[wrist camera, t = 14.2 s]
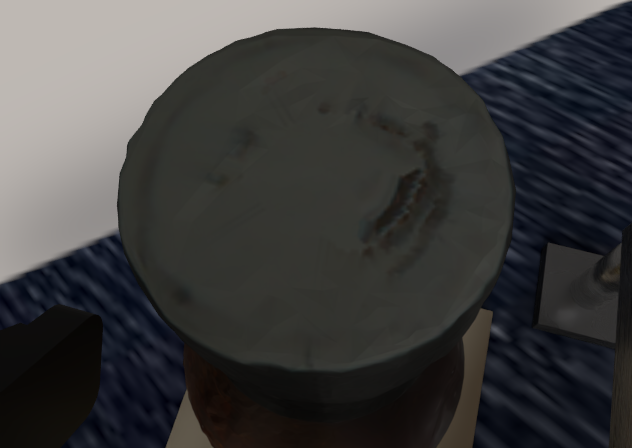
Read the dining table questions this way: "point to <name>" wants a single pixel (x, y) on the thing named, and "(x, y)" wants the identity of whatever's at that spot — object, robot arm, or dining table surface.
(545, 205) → the dining table surface
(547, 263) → the grey bar handle
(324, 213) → the sauce bottle
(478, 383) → the birch pad
